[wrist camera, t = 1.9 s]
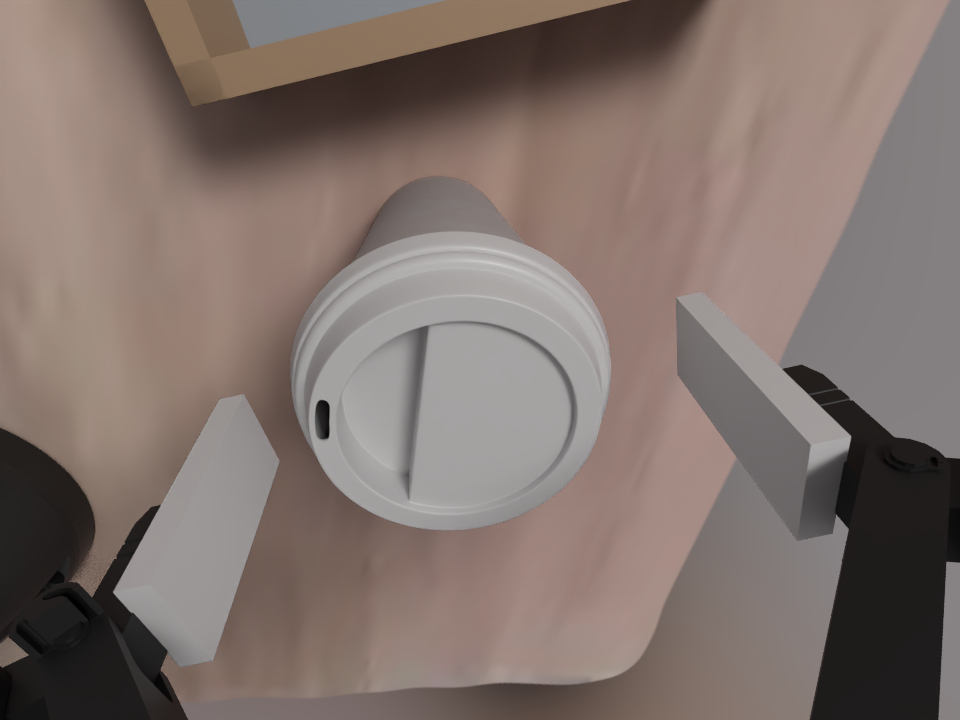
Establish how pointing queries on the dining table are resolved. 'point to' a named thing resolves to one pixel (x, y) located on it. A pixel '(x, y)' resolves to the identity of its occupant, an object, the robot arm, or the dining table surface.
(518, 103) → the dining table surface
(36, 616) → the robot arm
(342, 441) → the coffee cup
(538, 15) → the tray
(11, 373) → the dining table surface
